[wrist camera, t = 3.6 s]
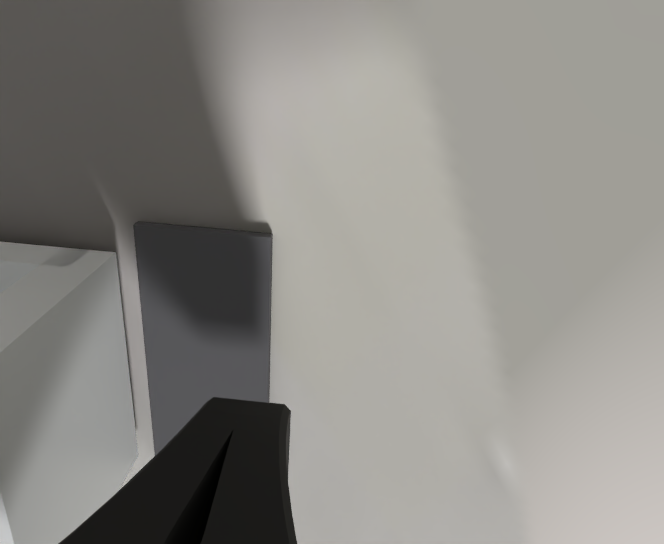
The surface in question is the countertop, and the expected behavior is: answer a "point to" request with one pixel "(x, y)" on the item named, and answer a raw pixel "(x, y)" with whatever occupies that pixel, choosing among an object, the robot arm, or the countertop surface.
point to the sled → (61, 390)
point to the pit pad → (203, 319)
